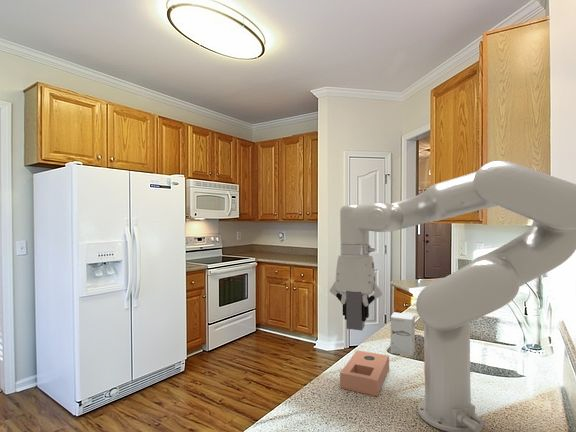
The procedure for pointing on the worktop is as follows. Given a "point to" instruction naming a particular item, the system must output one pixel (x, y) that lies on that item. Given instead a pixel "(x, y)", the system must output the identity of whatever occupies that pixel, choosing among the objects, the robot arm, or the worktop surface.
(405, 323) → the supplement box
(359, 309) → the square peg
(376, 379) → the bore block
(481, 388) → the worktop surface
